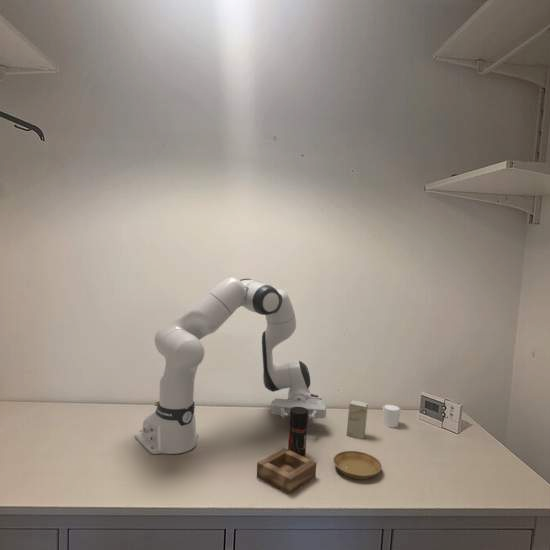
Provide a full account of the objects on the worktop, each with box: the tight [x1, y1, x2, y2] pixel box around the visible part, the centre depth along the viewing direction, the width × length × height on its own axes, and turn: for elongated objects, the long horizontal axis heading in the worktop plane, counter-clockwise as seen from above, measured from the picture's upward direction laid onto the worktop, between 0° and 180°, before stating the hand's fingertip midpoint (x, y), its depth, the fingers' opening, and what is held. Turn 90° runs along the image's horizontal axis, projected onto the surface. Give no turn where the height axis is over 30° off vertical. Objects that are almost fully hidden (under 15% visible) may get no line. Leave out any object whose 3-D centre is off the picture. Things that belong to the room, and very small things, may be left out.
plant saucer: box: [332, 450, 382, 480], centre depth 134 cm, size 15×15×3 cm
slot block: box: [256, 447, 317, 496], centre depth 127 cm, size 12×12×4 cm
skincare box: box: [346, 399, 369, 440], centre depth 157 cm, size 6×4×12 cm
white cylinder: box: [382, 403, 401, 428], centre depth 168 cm, size 7×7×7 cm
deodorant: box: [287, 407, 309, 458], centre depth 141 cm, size 6×6×15 cm
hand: (298, 417), depth 152 cm, fingers open, 8 cm apart
